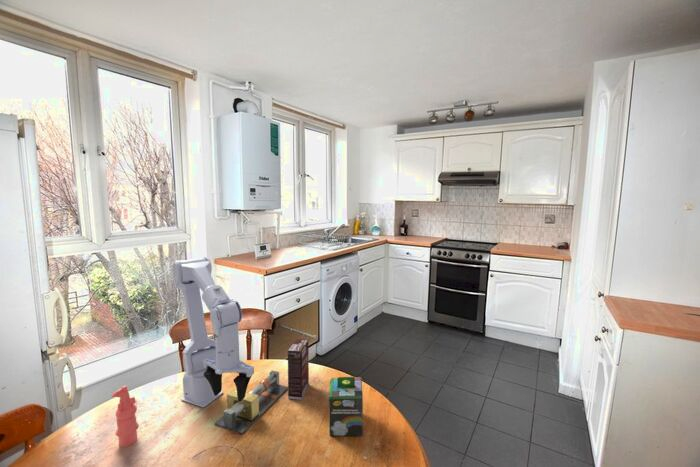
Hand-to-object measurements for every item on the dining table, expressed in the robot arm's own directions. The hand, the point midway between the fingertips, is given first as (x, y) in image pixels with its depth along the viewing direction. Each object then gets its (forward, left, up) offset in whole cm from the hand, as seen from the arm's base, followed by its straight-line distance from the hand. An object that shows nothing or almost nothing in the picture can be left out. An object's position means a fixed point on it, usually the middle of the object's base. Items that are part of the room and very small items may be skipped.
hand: (229, 396), depth 85 cm
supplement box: (+8, +22, -10) cm, 25 cm away
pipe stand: (-1, +11, -10) cm, 15 cm away
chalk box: (+28, +14, -10) cm, 33 cm away
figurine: (-22, -13, -10) cm, 27 cm away
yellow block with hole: (-1, +6, -10) cm, 11 cm away
